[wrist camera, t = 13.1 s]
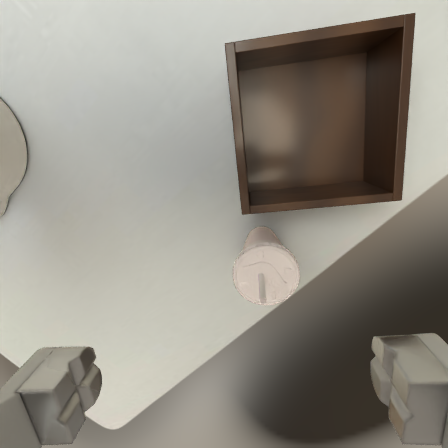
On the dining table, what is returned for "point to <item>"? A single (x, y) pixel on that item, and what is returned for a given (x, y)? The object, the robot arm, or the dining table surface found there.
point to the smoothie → (265, 269)
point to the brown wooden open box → (321, 115)
